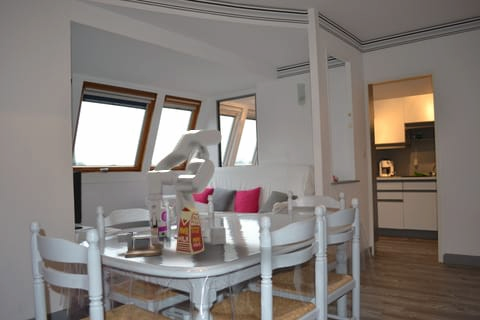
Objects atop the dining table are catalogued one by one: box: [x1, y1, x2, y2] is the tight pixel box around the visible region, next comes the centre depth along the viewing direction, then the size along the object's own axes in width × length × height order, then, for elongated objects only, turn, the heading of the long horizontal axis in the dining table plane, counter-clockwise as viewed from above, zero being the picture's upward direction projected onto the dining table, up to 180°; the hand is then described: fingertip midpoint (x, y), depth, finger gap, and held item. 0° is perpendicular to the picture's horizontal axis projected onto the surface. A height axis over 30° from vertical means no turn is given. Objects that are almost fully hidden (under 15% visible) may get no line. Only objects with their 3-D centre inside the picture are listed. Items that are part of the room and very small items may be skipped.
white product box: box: [150, 206, 168, 239], centre depth 197 cm, size 8×8×15 cm
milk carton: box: [175, 204, 205, 256], centre depth 157 cm, size 9×9×20 cm
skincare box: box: [209, 225, 227, 246], centre depth 173 cm, size 6×6×7 cm
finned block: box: [133, 238, 151, 250], centre depth 162 cm, size 6×7×4 cm
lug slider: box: [150, 228, 159, 244], centre depth 168 cm, size 3×7×7 cm, turn 9°
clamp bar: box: [117, 233, 157, 244], centre depth 162 cm, size 16×3×3 cm, turn 99°
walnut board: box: [124, 241, 164, 258], centre depth 162 cm, size 14×23×1 cm, turn 9°
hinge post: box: [126, 231, 134, 250], centre depth 161 cm, size 2×5×7 cm, turn 9°
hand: (155, 237), depth 175 cm, fingers closed
